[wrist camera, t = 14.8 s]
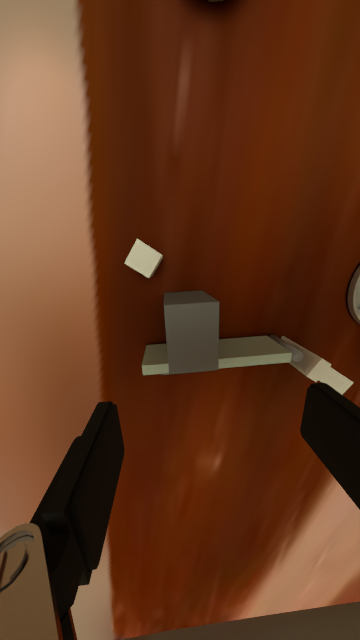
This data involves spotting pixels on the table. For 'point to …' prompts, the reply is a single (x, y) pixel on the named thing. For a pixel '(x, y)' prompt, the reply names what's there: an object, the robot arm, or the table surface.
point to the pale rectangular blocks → (310, 365)
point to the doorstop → (191, 331)
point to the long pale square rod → (230, 353)
